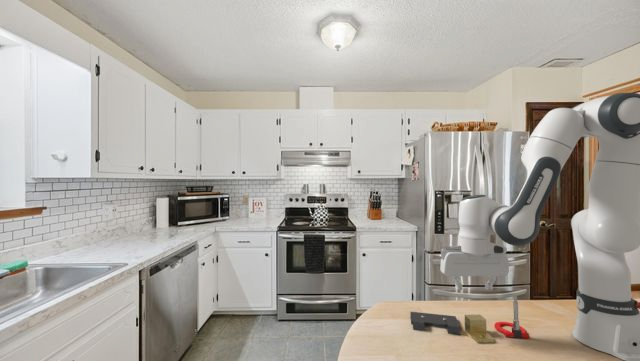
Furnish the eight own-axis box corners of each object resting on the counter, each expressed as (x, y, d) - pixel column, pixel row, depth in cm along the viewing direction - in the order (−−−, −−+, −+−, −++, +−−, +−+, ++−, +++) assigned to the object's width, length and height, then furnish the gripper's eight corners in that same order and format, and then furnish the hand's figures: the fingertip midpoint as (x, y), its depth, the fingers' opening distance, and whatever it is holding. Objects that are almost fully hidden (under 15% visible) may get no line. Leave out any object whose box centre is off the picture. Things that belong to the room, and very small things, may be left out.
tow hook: (490, 324, 98) (503, 337, 88) (489, 285, 98) (501, 295, 89) (517, 326, 96) (533, 339, 87) (515, 286, 97) (531, 296, 88)
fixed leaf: (455, 319, 100) (455, 312, 100) (461, 335, 90) (461, 327, 90) (410, 314, 104) (410, 307, 104) (411, 329, 94) (411, 321, 94)
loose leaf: (480, 330, 93) (480, 314, 93) (494, 343, 86) (493, 326, 86) (464, 330, 93) (464, 314, 93) (477, 343, 86) (477, 326, 86)
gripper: (445, 248, 88) (445, 293, 88) (512, 248, 88) (512, 293, 88) (436, 243, 95) (437, 285, 95) (499, 243, 94) (499, 285, 95)
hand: (473, 289), depth 91 cm, fingers open, 8 cm apart
